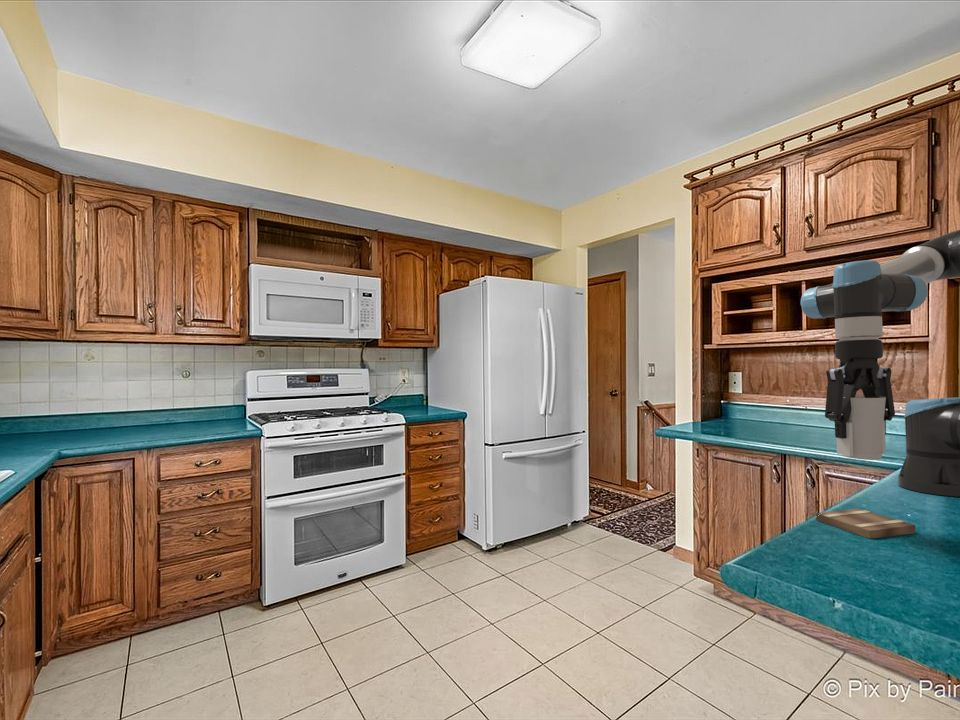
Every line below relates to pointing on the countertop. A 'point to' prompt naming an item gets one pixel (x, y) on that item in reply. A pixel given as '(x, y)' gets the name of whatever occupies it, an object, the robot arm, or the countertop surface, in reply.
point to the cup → (867, 427)
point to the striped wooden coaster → (866, 523)
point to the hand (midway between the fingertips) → (861, 453)
